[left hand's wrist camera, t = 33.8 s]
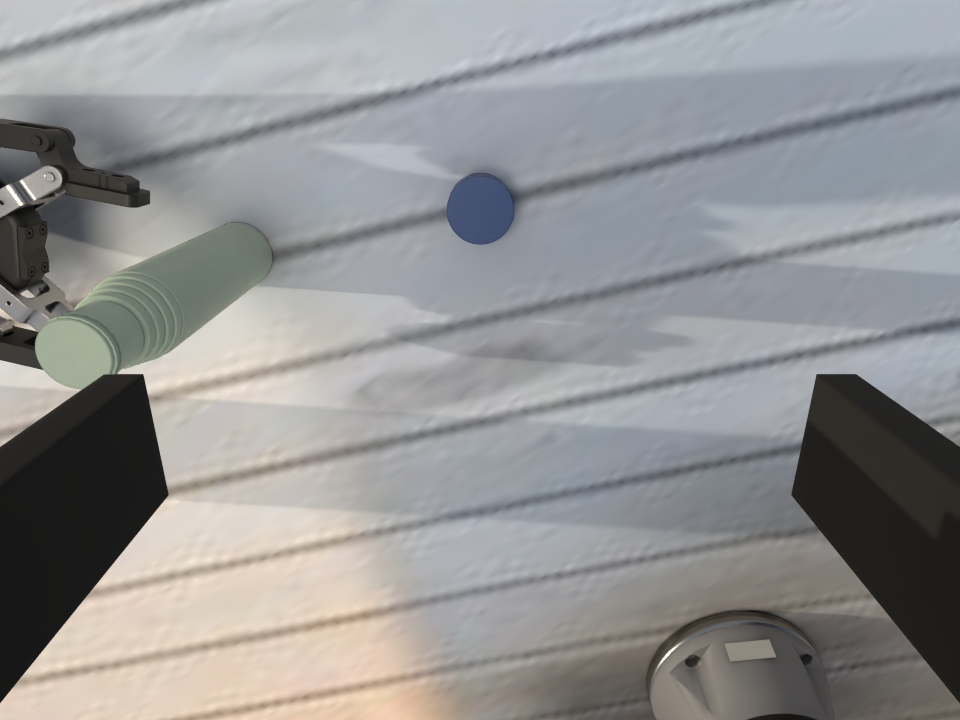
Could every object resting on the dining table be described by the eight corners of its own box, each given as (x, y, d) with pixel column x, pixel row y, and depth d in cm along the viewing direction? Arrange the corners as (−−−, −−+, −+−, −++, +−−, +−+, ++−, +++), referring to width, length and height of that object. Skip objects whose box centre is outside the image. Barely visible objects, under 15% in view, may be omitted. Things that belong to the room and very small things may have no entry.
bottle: (283, 273, 44) (148, 385, 26) (227, 293, 45) (57, 417, 27) (254, 213, 43) (89, 287, 25) (196, 235, 43) (-6, 324, 25)
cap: (471, 159, 41) (471, 162, 39) (525, 197, 42) (527, 201, 40) (436, 214, 43) (434, 220, 41) (488, 250, 44) (489, 257, 42)
